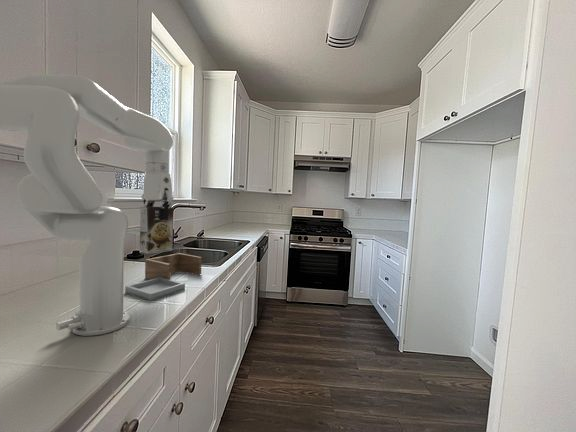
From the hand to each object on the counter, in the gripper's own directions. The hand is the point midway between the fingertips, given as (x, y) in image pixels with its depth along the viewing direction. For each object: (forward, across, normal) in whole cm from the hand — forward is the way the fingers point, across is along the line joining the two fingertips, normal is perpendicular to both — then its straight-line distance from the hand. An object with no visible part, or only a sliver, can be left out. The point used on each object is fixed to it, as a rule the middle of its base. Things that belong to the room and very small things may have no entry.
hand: (156, 218), depth 97 cm
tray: (+27, 0, 0) cm, 27 cm away
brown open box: (+27, +10, -16) cm, 32 cm away
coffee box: (+12, 0, 0) cm, 12 cm away
